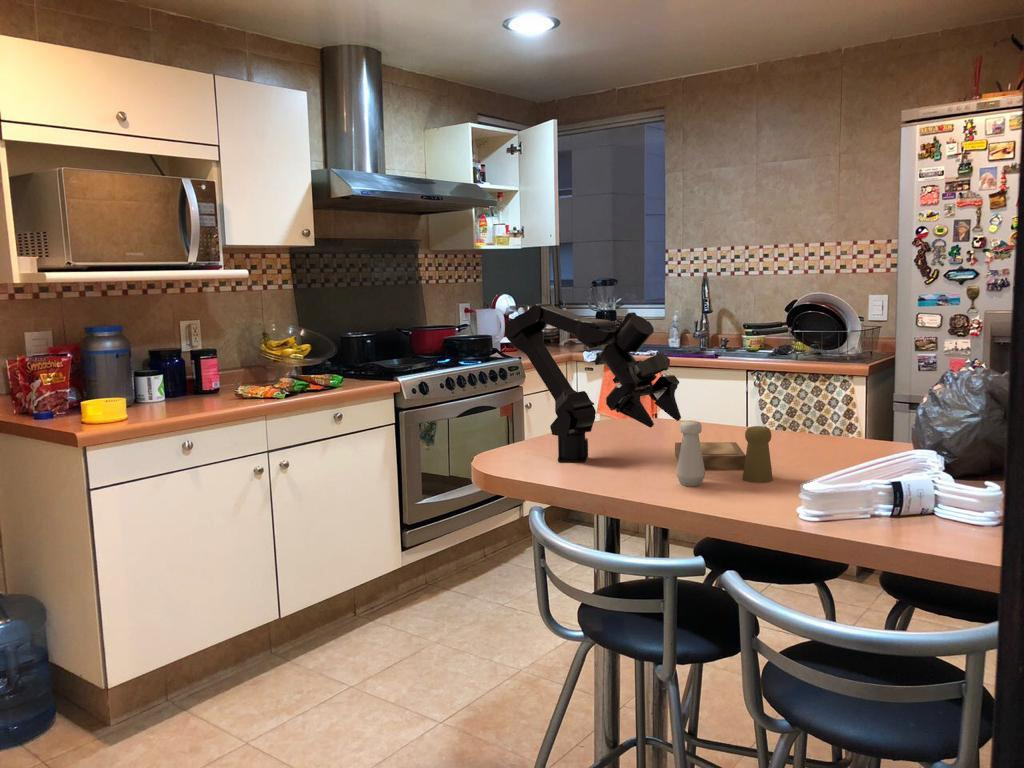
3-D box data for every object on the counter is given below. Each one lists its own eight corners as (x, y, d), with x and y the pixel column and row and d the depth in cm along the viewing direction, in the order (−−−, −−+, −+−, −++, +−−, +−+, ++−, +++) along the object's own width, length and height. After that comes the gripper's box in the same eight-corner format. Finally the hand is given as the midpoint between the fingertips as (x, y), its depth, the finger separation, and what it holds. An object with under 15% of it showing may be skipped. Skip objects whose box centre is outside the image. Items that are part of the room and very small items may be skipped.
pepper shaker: (768, 484, 164) (769, 430, 162) (738, 480, 167) (739, 428, 166) (776, 477, 169) (777, 425, 167) (747, 474, 172) (747, 423, 171)
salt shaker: (705, 488, 162) (705, 424, 161) (676, 487, 163) (676, 424, 162) (704, 480, 168) (704, 418, 166) (676, 480, 169) (676, 418, 167)
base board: (680, 469, 178) (680, 455, 177) (674, 455, 191) (674, 441, 191) (746, 469, 176) (746, 455, 176) (735, 454, 190) (735, 441, 189)
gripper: (615, 345, 164) (660, 404, 157) (671, 337, 176) (715, 392, 170) (587, 380, 171) (629, 439, 164) (643, 371, 183) (684, 425, 177)
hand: (666, 422), depth 169 cm, fingers open, 9 cm apart
